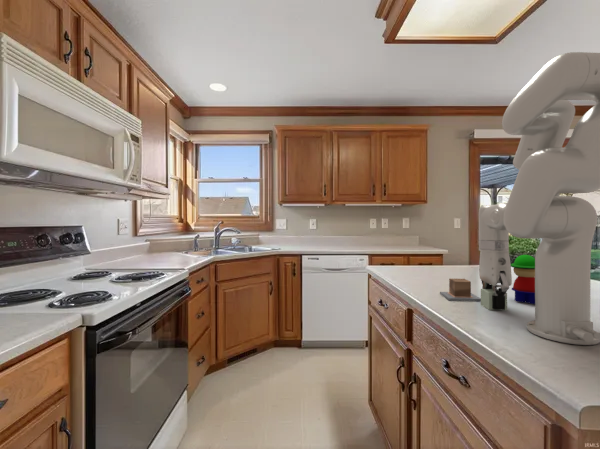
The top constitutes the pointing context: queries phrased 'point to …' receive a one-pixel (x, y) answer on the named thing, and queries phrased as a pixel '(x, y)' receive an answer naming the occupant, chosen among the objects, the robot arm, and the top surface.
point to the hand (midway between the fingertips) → (493, 305)
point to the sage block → (489, 299)
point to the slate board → (458, 298)
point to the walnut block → (460, 287)
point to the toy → (524, 279)
